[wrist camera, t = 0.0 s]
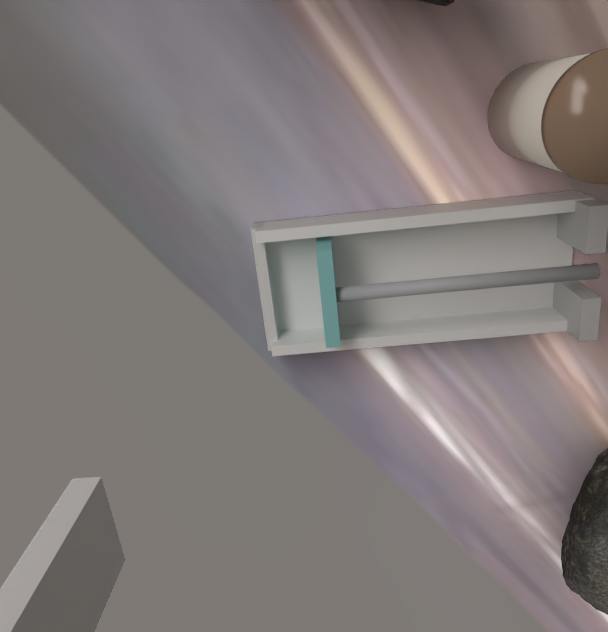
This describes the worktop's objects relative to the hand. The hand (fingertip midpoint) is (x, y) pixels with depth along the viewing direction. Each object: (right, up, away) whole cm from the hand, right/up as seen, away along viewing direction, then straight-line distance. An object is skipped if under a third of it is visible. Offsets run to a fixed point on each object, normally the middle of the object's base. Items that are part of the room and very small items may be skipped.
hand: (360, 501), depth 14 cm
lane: (+7, +8, +27) cm, 29 cm away
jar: (+14, +18, +23) cm, 32 cm away
